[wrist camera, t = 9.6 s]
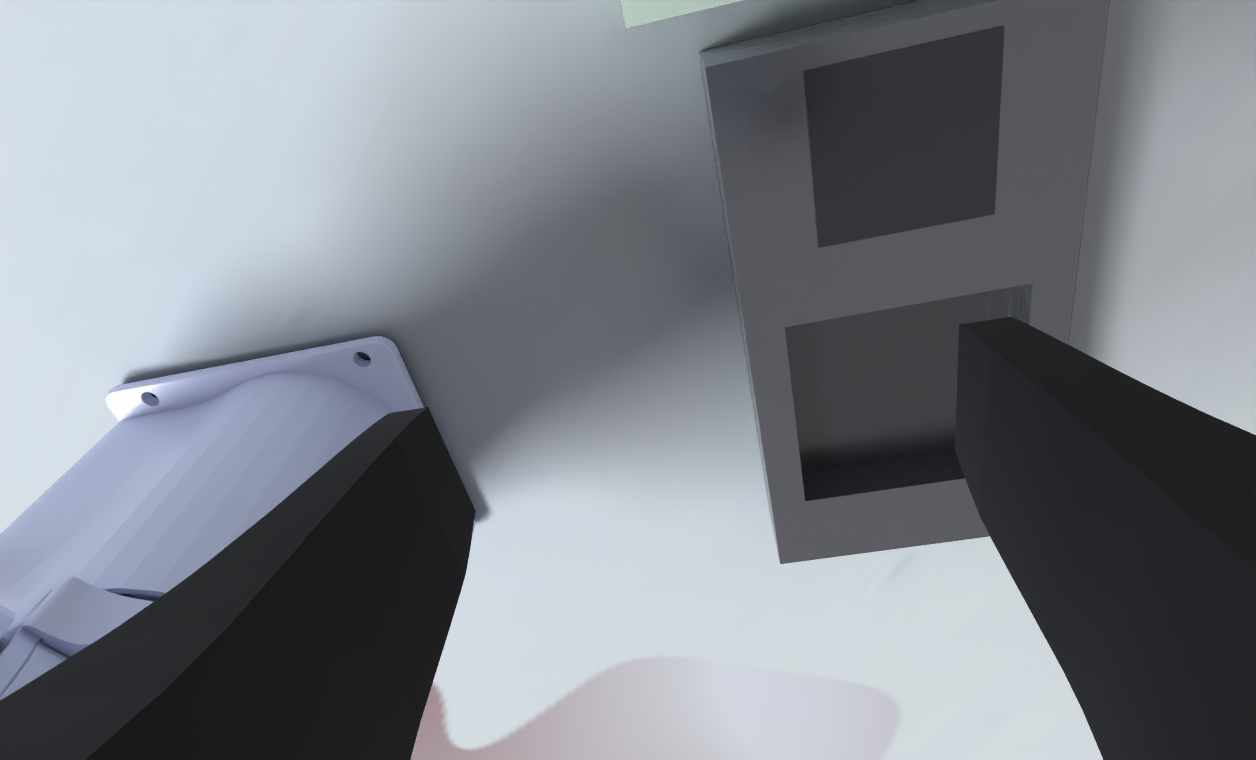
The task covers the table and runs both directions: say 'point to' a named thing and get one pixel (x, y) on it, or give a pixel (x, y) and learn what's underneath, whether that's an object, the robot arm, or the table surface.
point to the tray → (663, 9)
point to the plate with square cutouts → (895, 241)
